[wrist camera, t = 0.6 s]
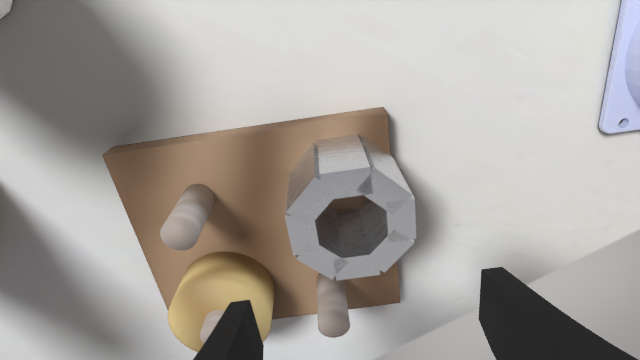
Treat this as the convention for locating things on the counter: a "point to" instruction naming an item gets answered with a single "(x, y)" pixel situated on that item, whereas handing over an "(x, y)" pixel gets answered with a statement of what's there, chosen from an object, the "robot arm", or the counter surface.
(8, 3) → the white cup
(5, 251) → the counter surface
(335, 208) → the board
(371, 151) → the gear ring
